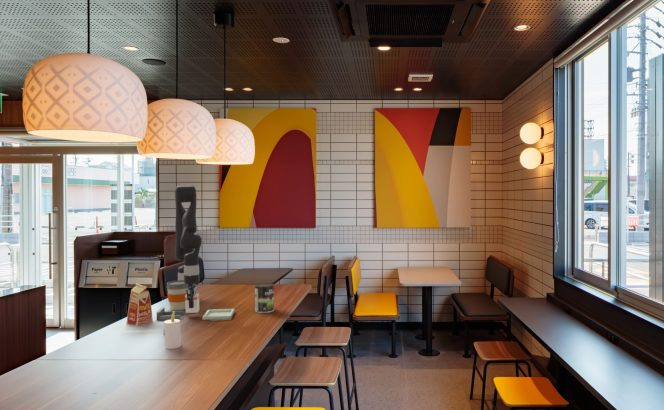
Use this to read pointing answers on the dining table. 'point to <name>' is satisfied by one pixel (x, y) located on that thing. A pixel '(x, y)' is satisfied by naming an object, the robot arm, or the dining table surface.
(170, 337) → the candle
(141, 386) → the dining table surface
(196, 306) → the white banded brick
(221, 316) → the tray
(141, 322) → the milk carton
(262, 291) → the coffee can
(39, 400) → the dining table surface
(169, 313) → the grey holder
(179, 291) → the reusable coffee cup
